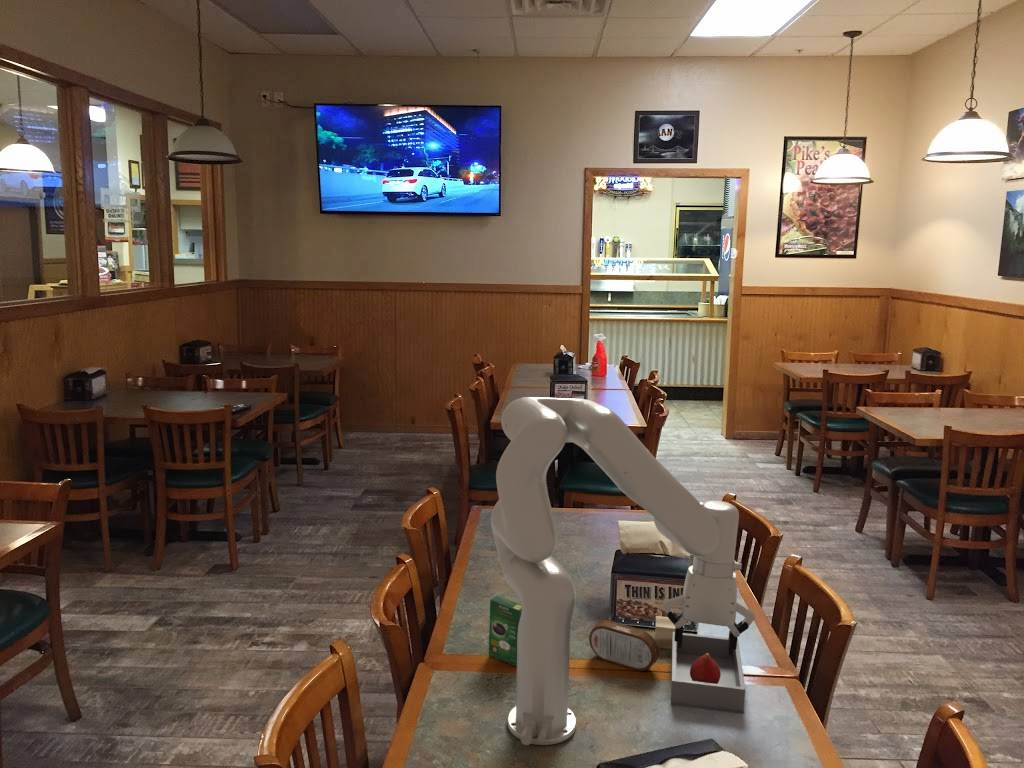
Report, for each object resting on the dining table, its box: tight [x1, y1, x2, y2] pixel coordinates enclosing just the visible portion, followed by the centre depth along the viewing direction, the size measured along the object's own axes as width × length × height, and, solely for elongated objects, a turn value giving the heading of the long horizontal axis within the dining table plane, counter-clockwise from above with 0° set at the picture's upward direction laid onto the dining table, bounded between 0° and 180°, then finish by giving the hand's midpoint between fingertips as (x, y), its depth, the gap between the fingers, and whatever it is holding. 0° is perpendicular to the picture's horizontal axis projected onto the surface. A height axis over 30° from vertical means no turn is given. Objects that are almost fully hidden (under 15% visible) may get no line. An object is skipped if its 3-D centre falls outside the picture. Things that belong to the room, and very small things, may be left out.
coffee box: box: [488, 595, 522, 668], centre depth 168 cm, size 8×3×13 cm, turn 54°
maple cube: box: [654, 615, 675, 650], centre depth 176 cm, size 5×5×5 cm
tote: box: [670, 632, 746, 715], centre depth 161 cm, size 20×14×5 cm
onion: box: [690, 653, 721, 684], centre depth 157 cm, size 6×6×8 cm
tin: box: [588, 619, 660, 672], centre depth 167 cm, size 15×3×8 cm, turn 59°
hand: (704, 648), depth 155 cm, fingers open, 9 cm apart
